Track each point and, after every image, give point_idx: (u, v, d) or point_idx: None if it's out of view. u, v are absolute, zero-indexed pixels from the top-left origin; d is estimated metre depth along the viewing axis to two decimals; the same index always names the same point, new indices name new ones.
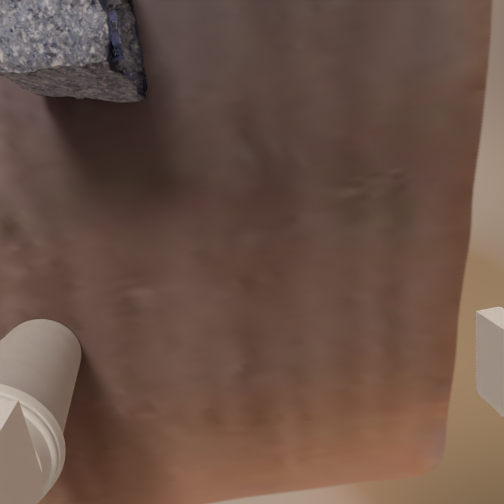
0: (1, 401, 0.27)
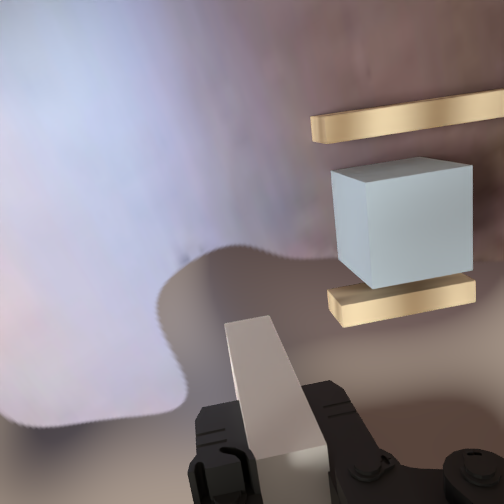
0: None
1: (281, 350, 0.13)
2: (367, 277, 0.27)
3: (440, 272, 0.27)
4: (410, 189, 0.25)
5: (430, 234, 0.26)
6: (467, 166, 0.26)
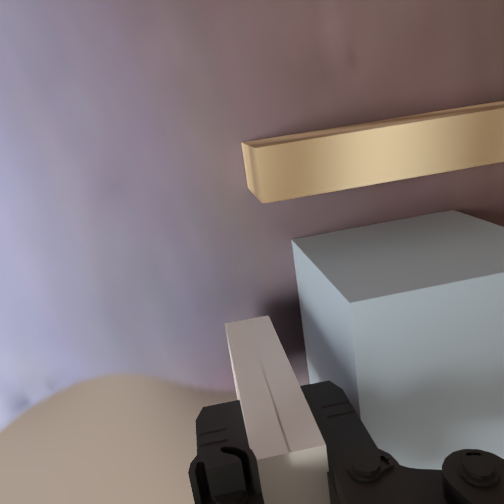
0: None
1: (280, 350, 0.13)
2: None
3: None
4: (450, 312, 0.11)
5: (493, 398, 0.12)
6: None
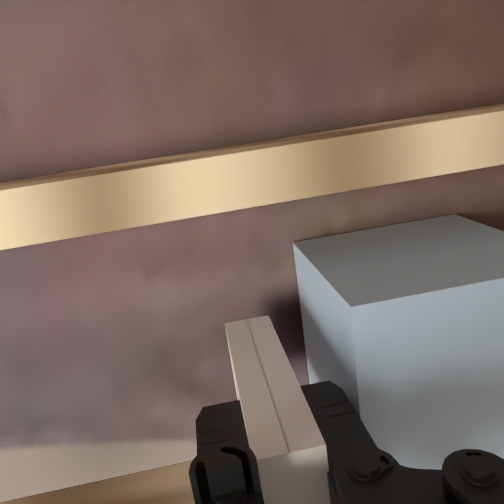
0: None
1: (280, 350, 0.13)
2: None
3: None
4: (451, 317, 0.11)
5: (492, 403, 0.12)
6: None
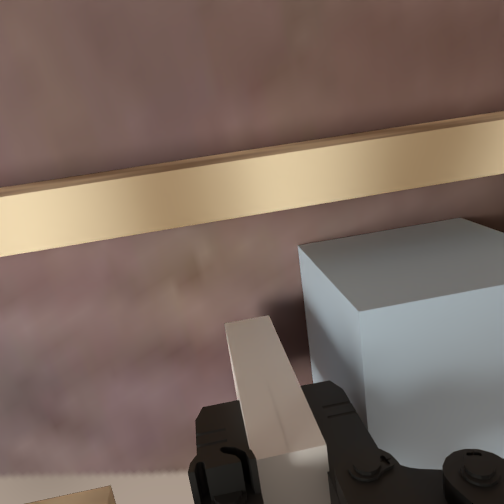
0: None
1: (281, 350, 0.13)
2: None
3: None
4: (459, 322, 0.11)
5: (501, 409, 0.12)
6: None
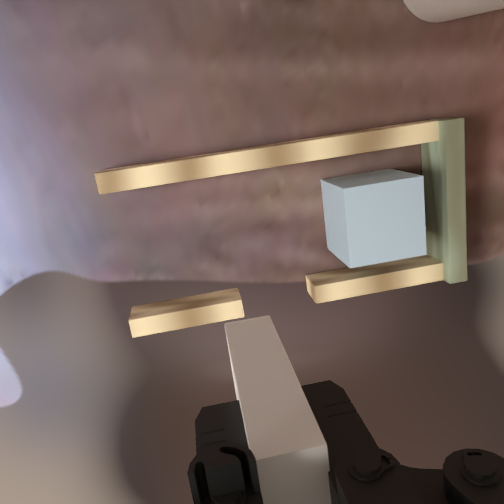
0: None
1: (281, 350, 0.13)
2: (346, 260, 0.36)
3: (401, 256, 0.36)
4: (376, 193, 0.34)
5: (393, 227, 0.35)
6: (419, 176, 0.34)
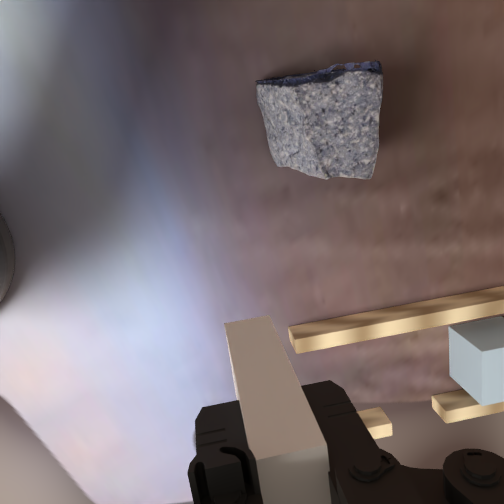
0: None
1: (281, 350, 0.13)
2: (477, 398, 0.48)
3: None
4: None
5: None
6: None
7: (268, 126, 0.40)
